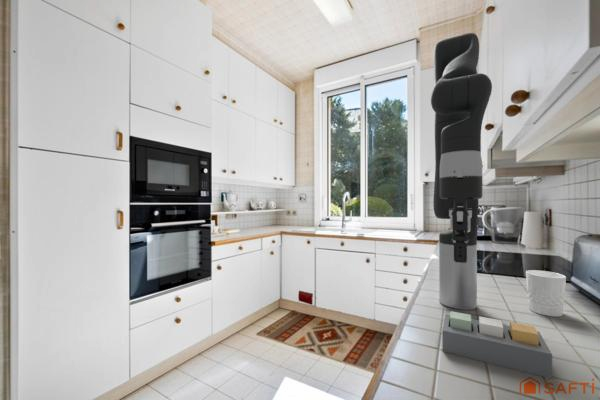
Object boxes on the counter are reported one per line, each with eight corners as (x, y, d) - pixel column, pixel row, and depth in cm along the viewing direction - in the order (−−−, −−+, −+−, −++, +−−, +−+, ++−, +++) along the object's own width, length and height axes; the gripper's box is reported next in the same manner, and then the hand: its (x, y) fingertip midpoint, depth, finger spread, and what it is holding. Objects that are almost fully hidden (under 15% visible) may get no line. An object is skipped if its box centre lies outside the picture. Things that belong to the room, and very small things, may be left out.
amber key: (509, 332, 53) (509, 322, 53) (534, 337, 51) (534, 326, 51) (512, 340, 50) (512, 329, 50) (538, 346, 48) (538, 334, 48)
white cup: (524, 311, 72) (523, 273, 72) (527, 303, 78) (527, 268, 78) (565, 320, 66) (565, 279, 66) (566, 311, 72) (566, 273, 72)
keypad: (445, 331, 61) (445, 313, 61) (539, 352, 52) (539, 331, 52) (442, 350, 53) (442, 330, 53) (552, 378, 45) (552, 354, 45)
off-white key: (479, 326, 55) (479, 316, 55) (501, 330, 53) (500, 320, 53) (479, 333, 52) (479, 323, 52) (503, 338, 50) (503, 327, 50)
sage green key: (450, 320, 58) (450, 311, 58) (470, 324, 56) (470, 314, 56) (450, 327, 55) (450, 317, 55) (471, 331, 53) (471, 321, 53)
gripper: (442, 179, 63) (442, 252, 63) (436, 173, 51) (436, 264, 51) (480, 177, 60) (480, 255, 60) (484, 171, 47) (485, 269, 47)
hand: (460, 259), depth 55 cm, fingers open, 4 cm apart
